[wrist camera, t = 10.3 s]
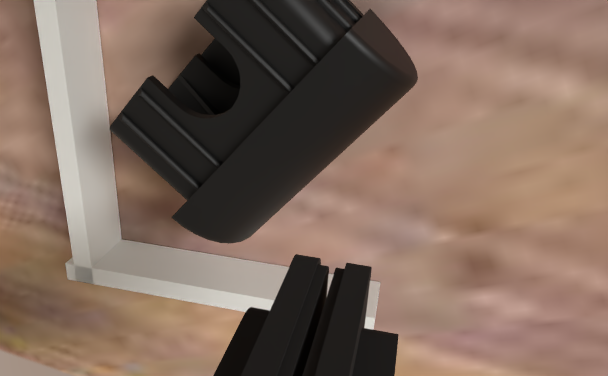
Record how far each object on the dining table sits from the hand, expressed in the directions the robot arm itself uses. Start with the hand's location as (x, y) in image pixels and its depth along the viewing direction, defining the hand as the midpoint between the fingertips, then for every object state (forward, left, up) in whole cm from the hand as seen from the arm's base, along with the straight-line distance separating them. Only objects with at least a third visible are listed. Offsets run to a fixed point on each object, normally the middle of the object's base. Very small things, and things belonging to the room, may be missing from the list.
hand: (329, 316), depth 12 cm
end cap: (-1, -5, -14) cm, 15 cm away
